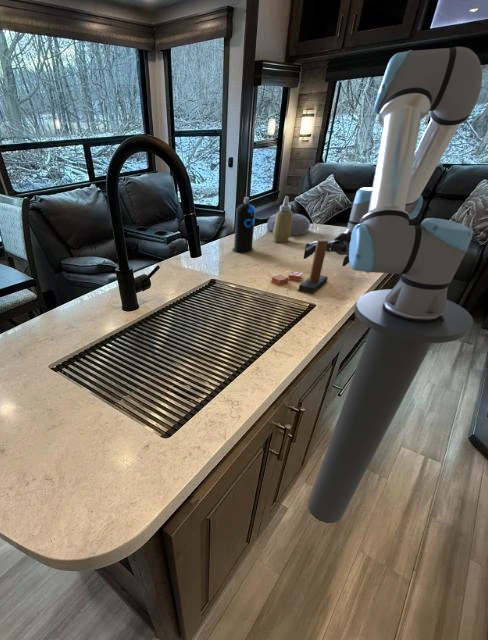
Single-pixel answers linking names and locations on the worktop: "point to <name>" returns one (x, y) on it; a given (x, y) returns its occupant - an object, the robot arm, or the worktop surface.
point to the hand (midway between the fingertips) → (324, 258)
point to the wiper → (316, 270)
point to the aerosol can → (244, 227)
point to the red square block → (279, 279)
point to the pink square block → (295, 276)
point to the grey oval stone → (297, 226)
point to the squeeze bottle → (283, 222)
